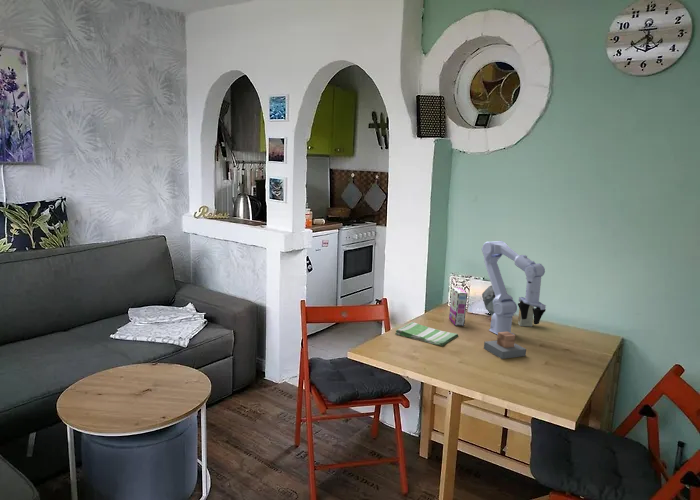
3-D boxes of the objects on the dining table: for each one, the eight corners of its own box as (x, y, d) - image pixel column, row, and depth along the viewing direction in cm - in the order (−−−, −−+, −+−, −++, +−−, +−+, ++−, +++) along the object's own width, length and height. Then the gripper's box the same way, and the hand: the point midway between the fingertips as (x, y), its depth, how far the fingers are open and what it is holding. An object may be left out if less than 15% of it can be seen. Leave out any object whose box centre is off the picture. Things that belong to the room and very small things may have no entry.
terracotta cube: (496, 343, 214) (497, 332, 213) (506, 342, 216) (507, 331, 215) (504, 347, 210) (505, 336, 209) (514, 346, 212) (515, 335, 211)
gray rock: (473, 318, 259) (476, 284, 256) (486, 312, 271) (489, 279, 267) (499, 324, 250) (503, 289, 247) (512, 318, 262) (515, 284, 258)
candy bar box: (465, 326, 246) (468, 293, 243) (454, 325, 245) (457, 293, 242) (458, 319, 257) (461, 287, 254) (448, 318, 256) (451, 287, 253)
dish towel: (442, 347, 216) (442, 341, 216) (394, 335, 229) (394, 329, 228) (458, 337, 231) (458, 331, 230) (412, 326, 243) (412, 320, 243)
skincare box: (530, 324, 254) (533, 300, 252) (532, 326, 250) (535, 303, 247) (517, 323, 254) (519, 299, 252) (519, 325, 250) (521, 302, 248)
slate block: (483, 348, 216) (484, 341, 216) (506, 345, 221) (507, 339, 220) (501, 358, 206) (502, 351, 205) (525, 355, 210) (526, 349, 210)
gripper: (514, 288, 226) (511, 317, 228) (537, 295, 213) (534, 327, 215) (526, 287, 229) (524, 316, 231) (550, 294, 215) (547, 325, 217)
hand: (530, 321), depth 223 cm, fingers open, 7 cm apart
